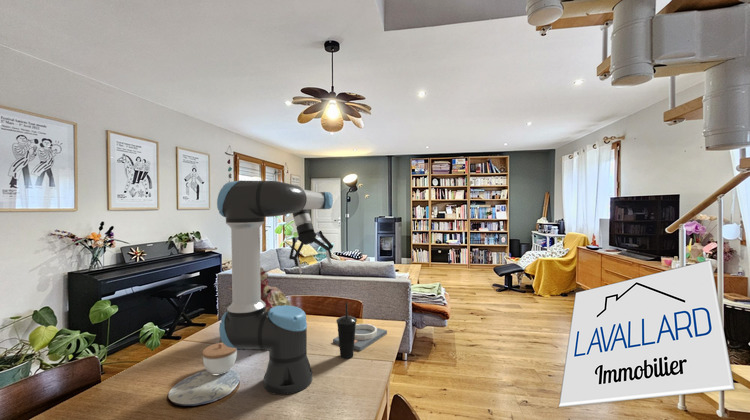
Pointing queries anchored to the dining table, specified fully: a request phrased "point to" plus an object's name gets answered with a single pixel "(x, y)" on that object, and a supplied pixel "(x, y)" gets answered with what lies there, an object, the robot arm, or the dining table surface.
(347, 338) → the drinking cup
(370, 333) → the ring board
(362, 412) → the dining table surface
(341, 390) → the dining table surface
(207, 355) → the lidded jar
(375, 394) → the dining table surface
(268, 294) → the rose bouquet
